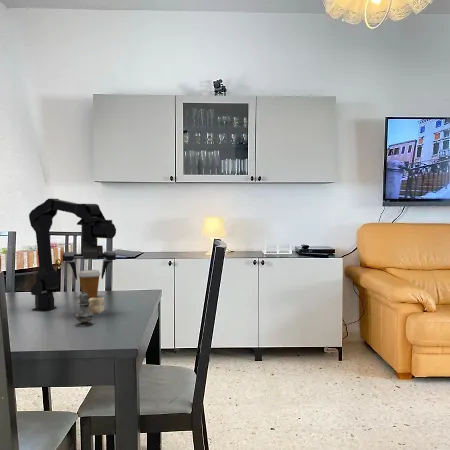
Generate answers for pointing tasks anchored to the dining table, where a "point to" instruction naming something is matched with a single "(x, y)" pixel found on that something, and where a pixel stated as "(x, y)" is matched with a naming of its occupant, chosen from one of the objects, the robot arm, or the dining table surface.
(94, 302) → the maple block
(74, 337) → the dining table surface
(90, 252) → the robot arm
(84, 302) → the grey tall rounded piece
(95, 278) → the disposable coffee cup
